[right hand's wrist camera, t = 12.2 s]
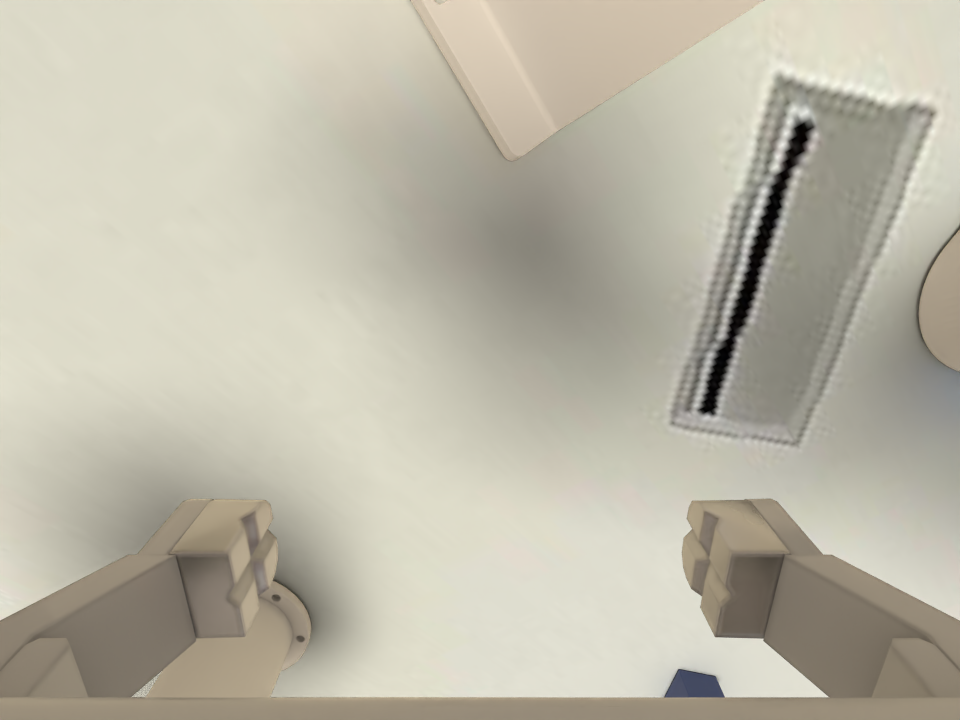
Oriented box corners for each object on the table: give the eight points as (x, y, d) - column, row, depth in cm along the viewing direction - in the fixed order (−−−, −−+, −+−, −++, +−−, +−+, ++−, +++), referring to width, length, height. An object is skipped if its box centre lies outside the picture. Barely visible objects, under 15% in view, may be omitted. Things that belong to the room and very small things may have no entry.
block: (662, 700, 58) (674, 737, 55) (678, 669, 57) (692, 705, 53) (698, 707, 59) (713, 745, 55) (715, 676, 57) (732, 712, 53)
